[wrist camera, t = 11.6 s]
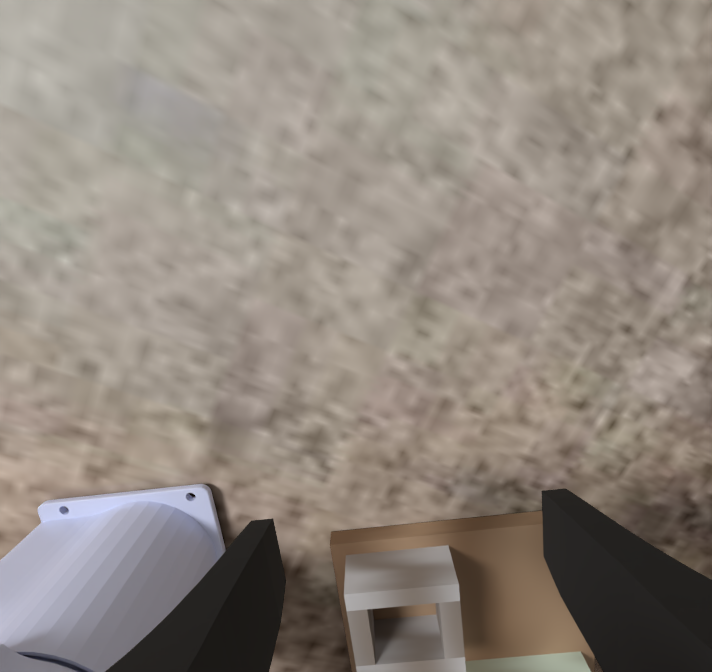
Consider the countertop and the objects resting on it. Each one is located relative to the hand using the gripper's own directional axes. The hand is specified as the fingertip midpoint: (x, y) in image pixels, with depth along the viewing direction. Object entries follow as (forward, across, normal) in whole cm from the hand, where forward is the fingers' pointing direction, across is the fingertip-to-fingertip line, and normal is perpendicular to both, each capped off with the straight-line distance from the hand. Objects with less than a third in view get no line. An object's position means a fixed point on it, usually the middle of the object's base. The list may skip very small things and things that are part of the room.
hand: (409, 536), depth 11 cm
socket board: (+10, -3, +18) cm, 21 cm away
